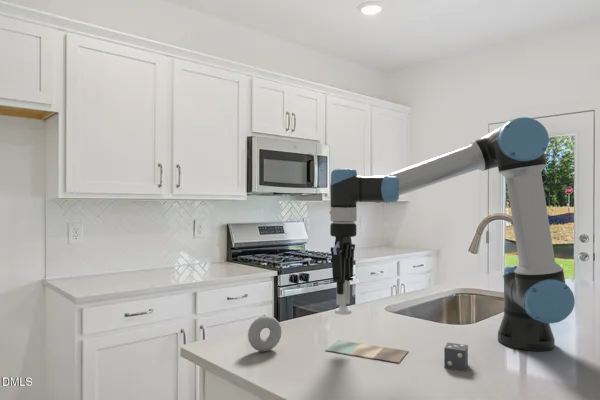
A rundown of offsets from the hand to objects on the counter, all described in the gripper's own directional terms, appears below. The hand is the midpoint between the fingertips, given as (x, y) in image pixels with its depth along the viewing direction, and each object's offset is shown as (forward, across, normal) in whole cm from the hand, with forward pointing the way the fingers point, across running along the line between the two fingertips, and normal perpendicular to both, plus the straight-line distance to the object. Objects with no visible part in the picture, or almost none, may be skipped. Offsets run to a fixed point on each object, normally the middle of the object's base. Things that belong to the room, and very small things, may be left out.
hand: (343, 304), depth 128 cm
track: (+13, 0, +7) cm, 14 cm away
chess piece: (+3, 0, 0) cm, 3 cm away
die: (+12, 0, +31) cm, 34 cm away
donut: (+13, +13, -18) cm, 26 cm away
